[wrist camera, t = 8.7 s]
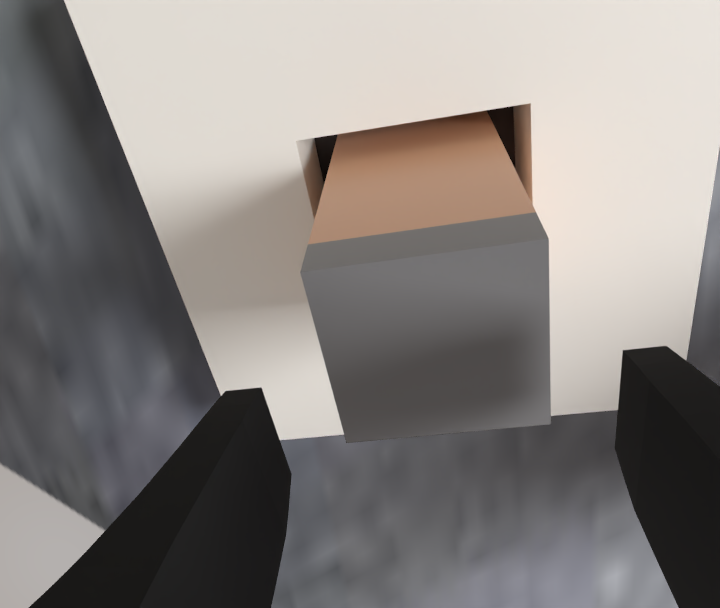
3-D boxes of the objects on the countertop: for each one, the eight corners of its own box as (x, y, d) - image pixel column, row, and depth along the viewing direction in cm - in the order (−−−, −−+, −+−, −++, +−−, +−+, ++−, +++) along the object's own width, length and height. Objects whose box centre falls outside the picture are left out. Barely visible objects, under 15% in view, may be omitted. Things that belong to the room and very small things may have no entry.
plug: (484, 104, 16) (549, 238, 9) (492, 237, 18) (551, 424, 11) (339, 129, 16) (300, 272, 10) (364, 254, 19) (346, 442, 12)
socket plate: (706, -160, 13) (794, -183, 10) (649, 353, 20) (690, 423, 17) (103, -33, 14) (34, -22, 12) (254, 393, 22) (234, 462, 19)
